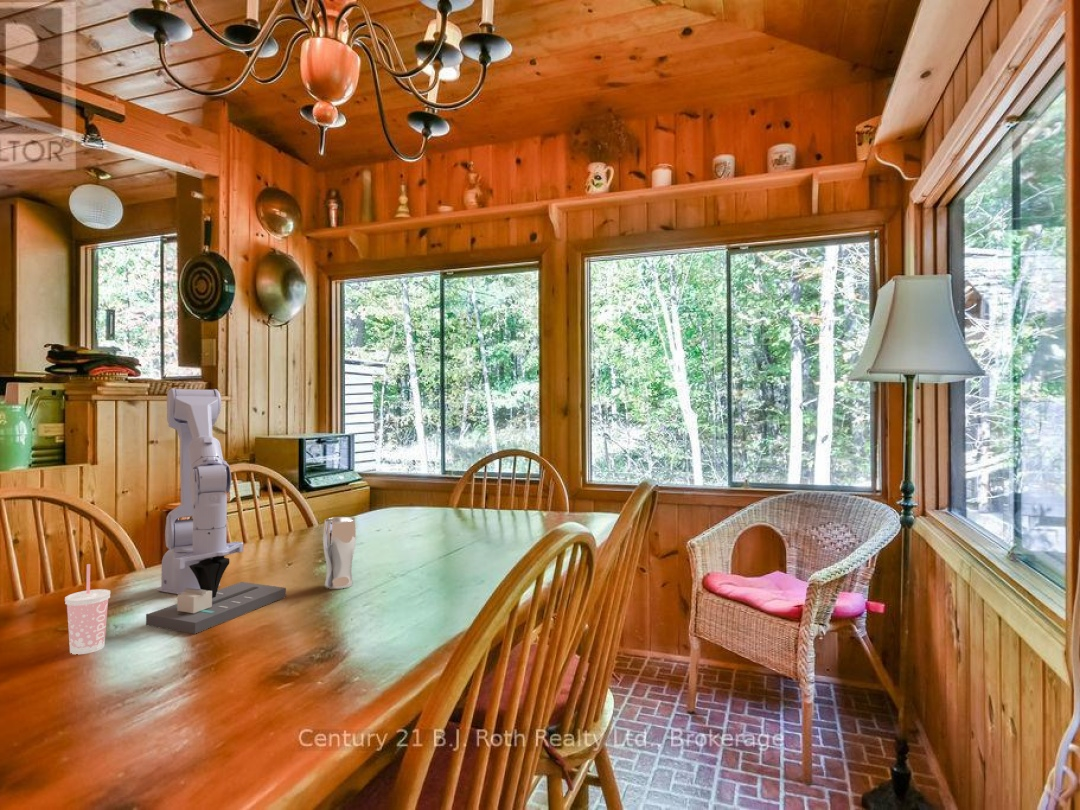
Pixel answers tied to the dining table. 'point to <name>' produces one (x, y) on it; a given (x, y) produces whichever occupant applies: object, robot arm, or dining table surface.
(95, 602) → the beverage cup
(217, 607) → the console
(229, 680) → the dining table surface
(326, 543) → the beer glass
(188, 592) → the fader tab
